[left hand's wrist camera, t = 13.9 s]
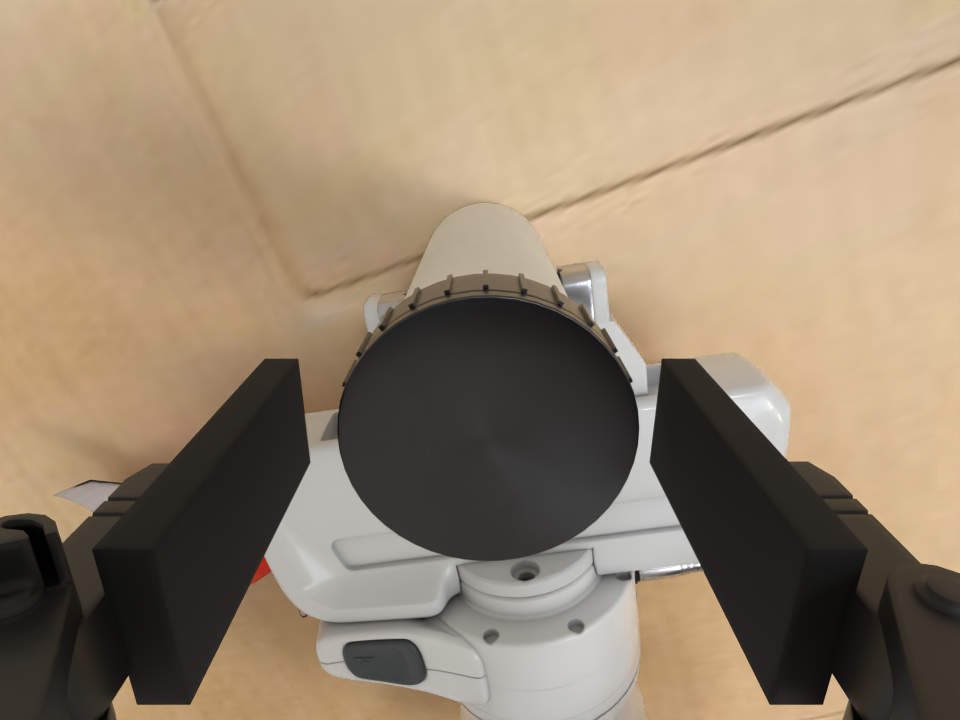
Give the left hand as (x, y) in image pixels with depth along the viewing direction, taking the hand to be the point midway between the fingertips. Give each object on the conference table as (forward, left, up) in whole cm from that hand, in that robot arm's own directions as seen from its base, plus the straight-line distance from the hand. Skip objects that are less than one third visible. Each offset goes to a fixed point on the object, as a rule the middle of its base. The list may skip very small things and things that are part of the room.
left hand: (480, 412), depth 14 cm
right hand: (-1, 0, -8) cm, 8 cm away
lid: (0, 0, +1) cm, 1 cm away
